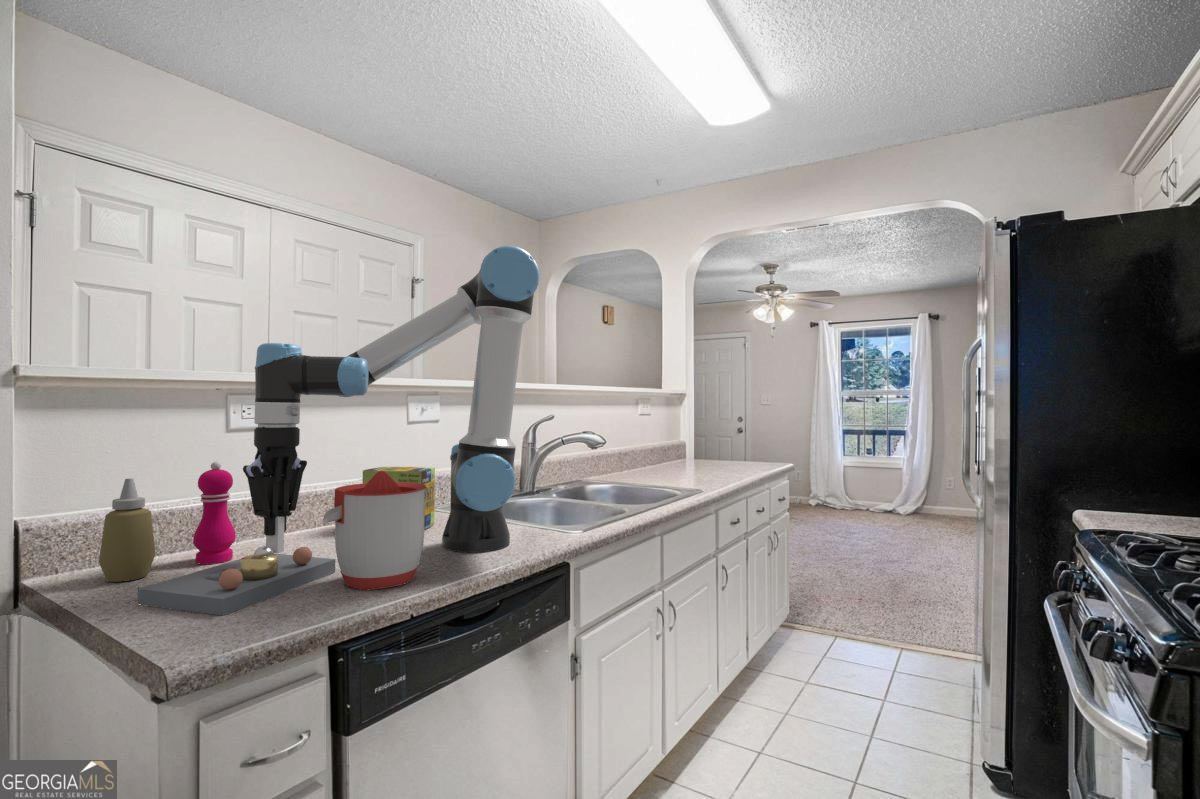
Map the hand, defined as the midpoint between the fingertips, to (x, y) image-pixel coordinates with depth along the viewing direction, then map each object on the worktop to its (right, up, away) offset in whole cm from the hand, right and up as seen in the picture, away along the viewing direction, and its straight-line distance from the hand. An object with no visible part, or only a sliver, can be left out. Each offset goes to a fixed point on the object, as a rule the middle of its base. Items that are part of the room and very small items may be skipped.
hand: (274, 551), depth 110 cm
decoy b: (+3, 0, -17) cm, 18 cm away
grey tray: (-1, -4, -8) cm, 9 cm away
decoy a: (+7, 0, -3) cm, 7 cm away
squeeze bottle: (-25, -4, -4) cm, 25 cm away
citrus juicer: (+21, -5, -5) cm, 22 cm away
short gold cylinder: (+3, -1, -10) cm, 11 cm away
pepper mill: (-17, -4, +9) cm, 20 cm away
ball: (-1, 0, -3) cm, 3 cm away
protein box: (+9, -5, +41) cm, 42 cm away
